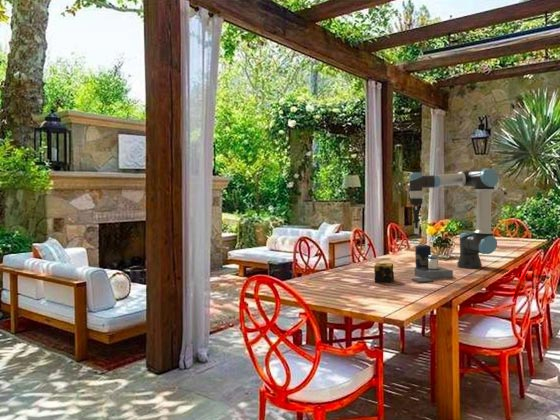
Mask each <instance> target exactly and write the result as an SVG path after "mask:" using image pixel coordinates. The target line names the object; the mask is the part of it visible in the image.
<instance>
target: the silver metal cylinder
mask: <svg viewBox="0 0 560 420" xmlns="http://www.w3.org/2000/svg"><path fill="white" fill-rule="evenodd" d="M438 267H439V255H438V254H431V255H428V270H438Z"/></svg>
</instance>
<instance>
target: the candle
mask: <svg viewBox="0 0 560 420" xmlns="http://www.w3.org/2000/svg"><path fill="white" fill-rule="evenodd" d="M373 268H374V283H377V284H378V283H381V284H393V282H394V280H395V276H394V275H395V272H394V263H393V262H392V263H391V262H390V263H389V262H388V263H387V262H378V263H377V262H376V263H375V264H374V266H373Z"/></svg>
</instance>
